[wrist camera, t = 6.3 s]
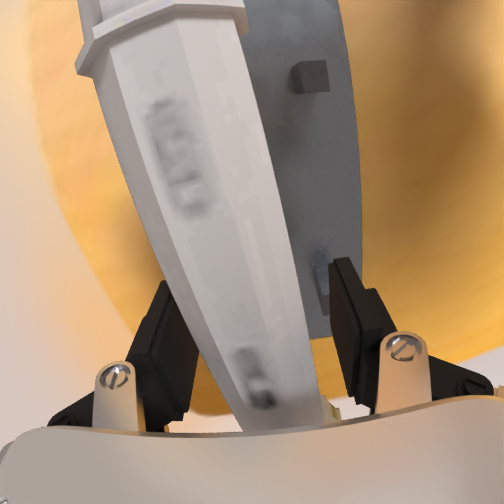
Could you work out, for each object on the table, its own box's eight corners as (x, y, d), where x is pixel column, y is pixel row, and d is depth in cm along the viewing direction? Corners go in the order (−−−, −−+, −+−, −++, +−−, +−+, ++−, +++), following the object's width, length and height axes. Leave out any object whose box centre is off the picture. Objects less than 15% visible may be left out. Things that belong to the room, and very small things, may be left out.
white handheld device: (219, -118, 3) (366, 530, 11) (240, -17, 10) (349, 442, 17) (25, -30, 4) (267, 544, 12) (121, 26, 10) (269, 457, 18)
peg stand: (122, 29, 19) (94, 18, 14) (332, -6, 18) (350, -27, 13) (200, 344, 32) (194, 380, 28) (357, 324, 31) (369, 359, 27)
